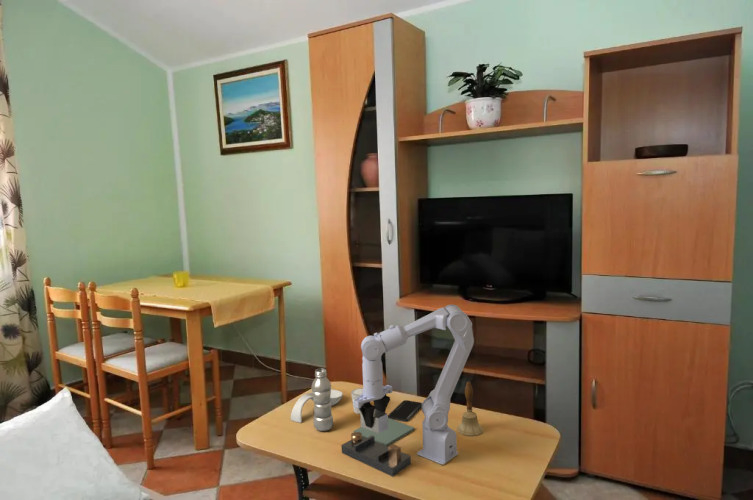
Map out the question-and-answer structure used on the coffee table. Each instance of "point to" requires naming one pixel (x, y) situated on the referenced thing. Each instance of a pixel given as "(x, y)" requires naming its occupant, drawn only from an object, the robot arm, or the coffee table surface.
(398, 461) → the hand plane
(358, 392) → the grey and white cylinder
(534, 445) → the coffee table surface
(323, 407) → the silver metal bottle
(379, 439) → the rubber mat
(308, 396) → the spoon rest
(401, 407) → the phone
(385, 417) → the rectangular metal block
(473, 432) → the hand bell
